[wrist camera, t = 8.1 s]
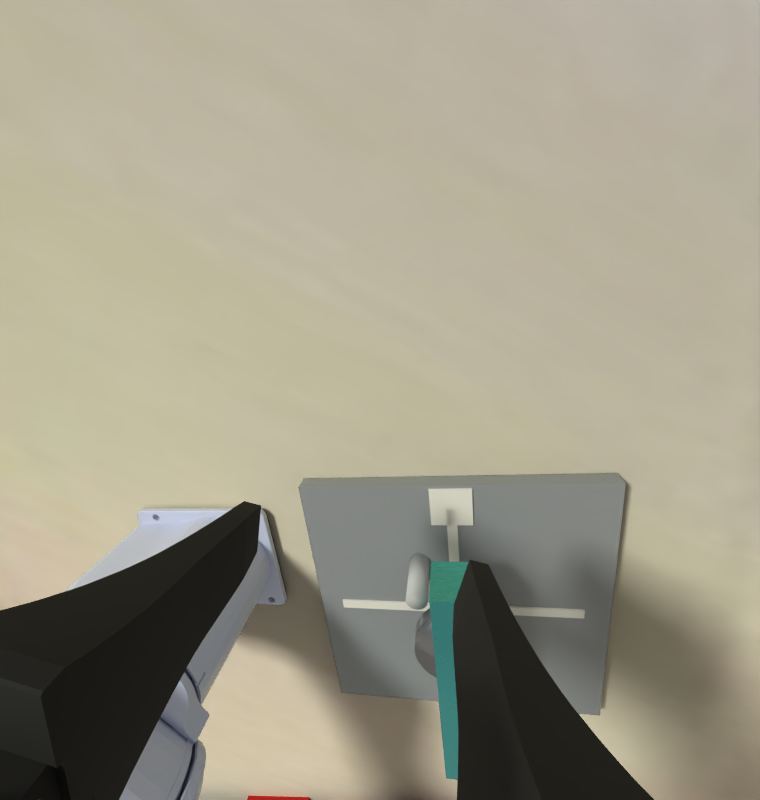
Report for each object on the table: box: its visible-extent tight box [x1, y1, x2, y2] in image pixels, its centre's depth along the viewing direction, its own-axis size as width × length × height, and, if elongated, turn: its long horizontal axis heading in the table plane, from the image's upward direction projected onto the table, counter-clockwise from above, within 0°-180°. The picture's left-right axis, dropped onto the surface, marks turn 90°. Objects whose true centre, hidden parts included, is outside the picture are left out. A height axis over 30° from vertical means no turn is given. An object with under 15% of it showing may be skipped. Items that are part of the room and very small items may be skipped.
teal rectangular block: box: [415, 561, 468, 780], centre depth 21 cm, size 13×5×4 cm, turn 7°
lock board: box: [298, 473, 626, 715], centre depth 24 cm, size 18×18×4 cm
